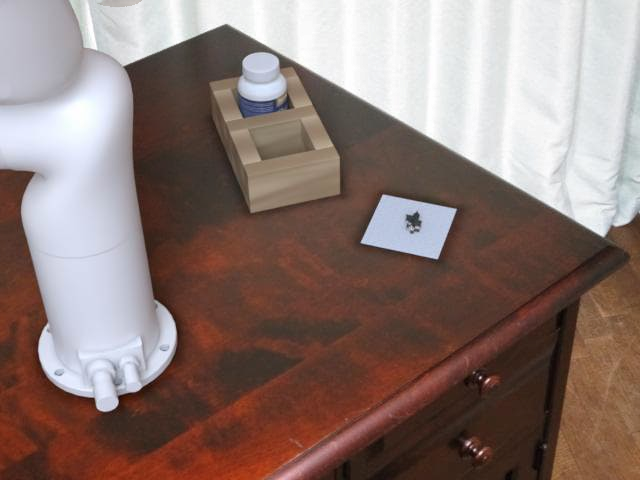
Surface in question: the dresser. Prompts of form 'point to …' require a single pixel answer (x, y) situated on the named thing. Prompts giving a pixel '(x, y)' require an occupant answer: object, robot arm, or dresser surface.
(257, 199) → the socket block
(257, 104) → the pill bottle
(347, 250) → the dresser surface
